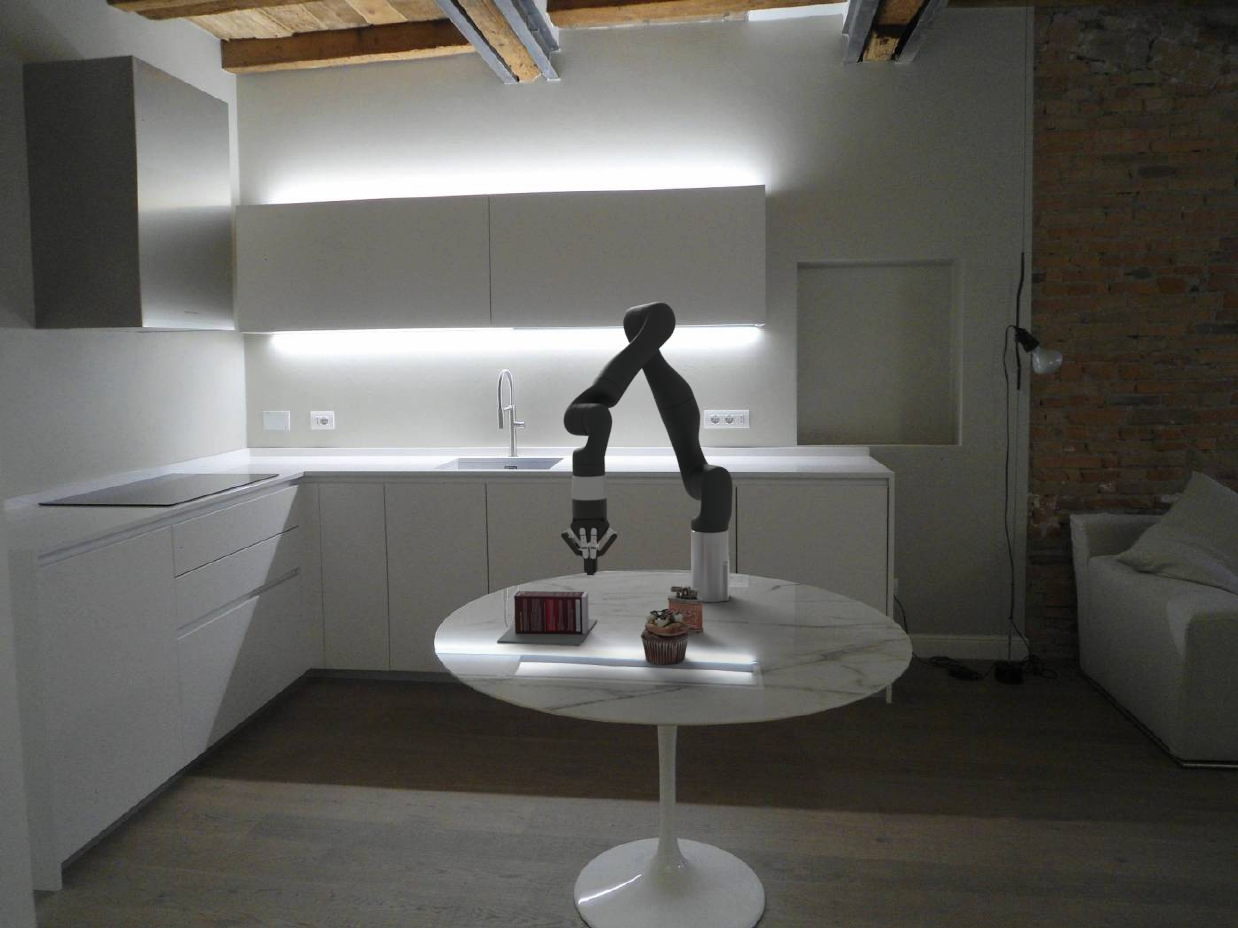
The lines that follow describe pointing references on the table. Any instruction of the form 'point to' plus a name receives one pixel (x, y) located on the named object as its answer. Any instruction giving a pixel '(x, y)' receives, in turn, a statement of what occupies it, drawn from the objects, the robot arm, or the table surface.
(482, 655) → the table surface
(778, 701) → the table surface
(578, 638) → the mat
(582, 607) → the supplement box
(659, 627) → the cupcake
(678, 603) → the lighter
